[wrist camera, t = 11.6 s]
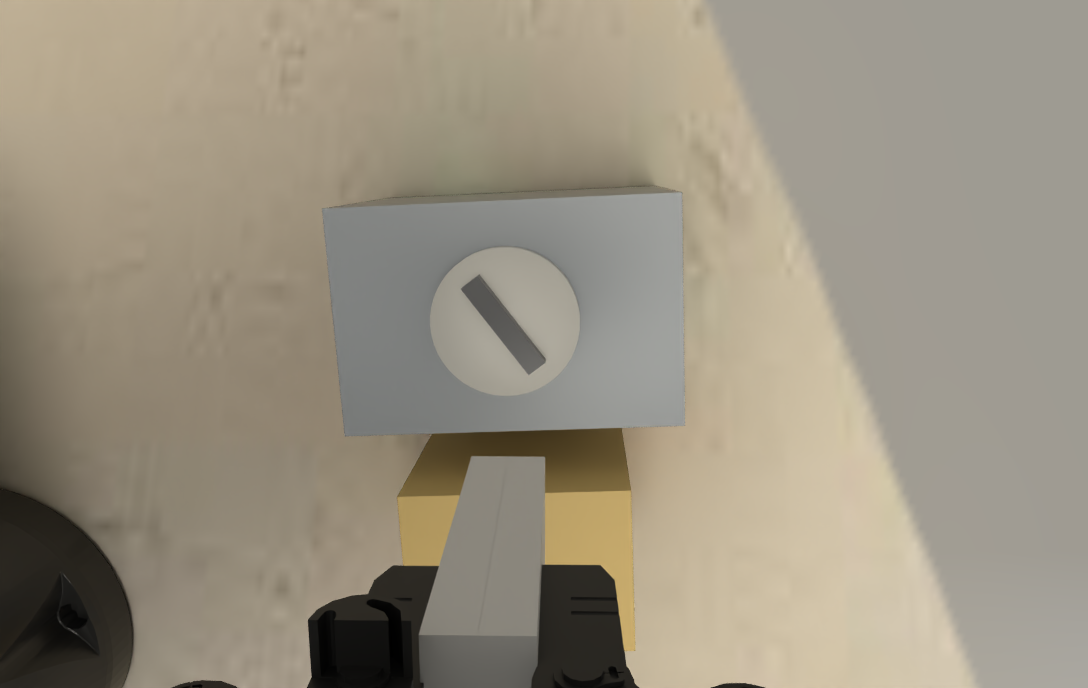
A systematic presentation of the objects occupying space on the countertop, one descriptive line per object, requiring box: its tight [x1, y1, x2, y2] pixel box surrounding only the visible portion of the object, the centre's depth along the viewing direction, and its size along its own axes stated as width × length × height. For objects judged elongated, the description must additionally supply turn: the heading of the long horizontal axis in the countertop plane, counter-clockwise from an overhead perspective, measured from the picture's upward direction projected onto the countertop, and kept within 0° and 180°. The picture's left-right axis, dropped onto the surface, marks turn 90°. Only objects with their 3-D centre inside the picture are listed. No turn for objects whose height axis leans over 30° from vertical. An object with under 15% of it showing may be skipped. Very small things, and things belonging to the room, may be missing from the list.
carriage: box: [397, 428, 635, 651], centre depth 34 cm, size 6×8×11 cm
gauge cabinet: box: [322, 186, 685, 436], centre depth 33 cm, size 8×12×11 cm, turn 93°
